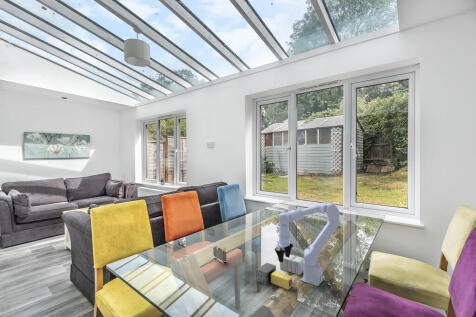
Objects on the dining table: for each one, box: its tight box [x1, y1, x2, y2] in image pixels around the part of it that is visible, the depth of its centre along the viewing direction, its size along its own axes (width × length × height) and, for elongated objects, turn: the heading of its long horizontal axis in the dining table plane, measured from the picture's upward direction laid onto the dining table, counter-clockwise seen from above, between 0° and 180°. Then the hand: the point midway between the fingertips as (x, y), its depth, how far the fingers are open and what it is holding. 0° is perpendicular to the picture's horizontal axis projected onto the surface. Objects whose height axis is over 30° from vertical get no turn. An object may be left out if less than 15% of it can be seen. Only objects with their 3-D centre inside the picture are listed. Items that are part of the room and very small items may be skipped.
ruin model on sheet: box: [212, 245, 227, 262], centre depth 146 cm, size 11×3×10 cm, turn 39°
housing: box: [256, 262, 277, 286], centre depth 122 cm, size 6×10×6 cm, turn 140°
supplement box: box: [279, 253, 304, 276], centre depth 132 cm, size 7×7×13 cm
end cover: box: [270, 270, 293, 290], centre depth 116 cm, size 10×5×5 cm, turn 50°
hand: (284, 259), depth 124 cm, fingers open, 7 cm apart
